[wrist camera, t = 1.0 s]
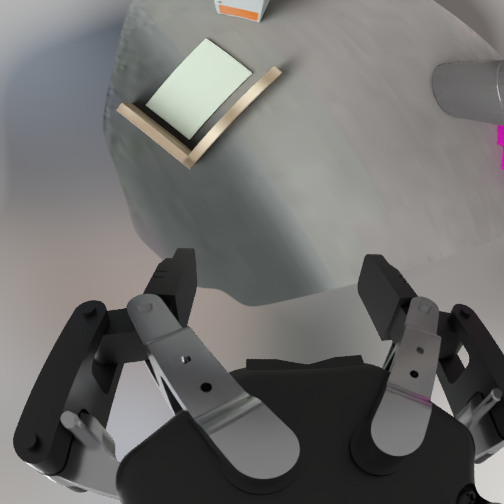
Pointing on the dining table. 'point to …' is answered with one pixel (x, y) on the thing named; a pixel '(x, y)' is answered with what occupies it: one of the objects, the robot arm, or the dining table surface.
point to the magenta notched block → (501, 141)
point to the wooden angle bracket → (193, 156)
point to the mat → (198, 88)
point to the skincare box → (242, 8)
